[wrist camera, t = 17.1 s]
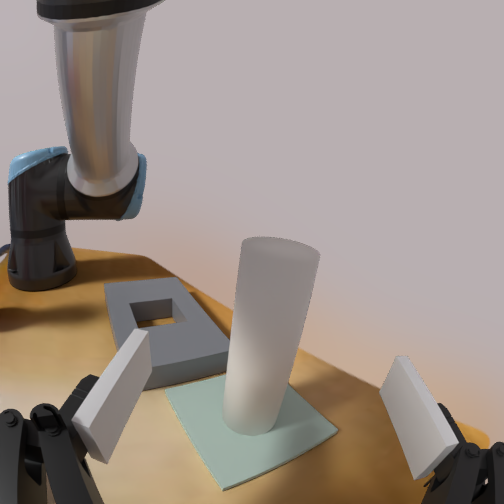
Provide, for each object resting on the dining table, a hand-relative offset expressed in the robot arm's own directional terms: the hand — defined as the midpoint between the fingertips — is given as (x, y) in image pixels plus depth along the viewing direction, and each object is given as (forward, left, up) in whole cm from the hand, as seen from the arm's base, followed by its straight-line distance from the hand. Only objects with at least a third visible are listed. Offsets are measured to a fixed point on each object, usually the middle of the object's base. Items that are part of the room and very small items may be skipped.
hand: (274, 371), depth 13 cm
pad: (-5, +3, -12) cm, 14 cm away
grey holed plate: (-22, 0, -12) cm, 25 cm away
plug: (-5, +3, -11) cm, 13 cm away
